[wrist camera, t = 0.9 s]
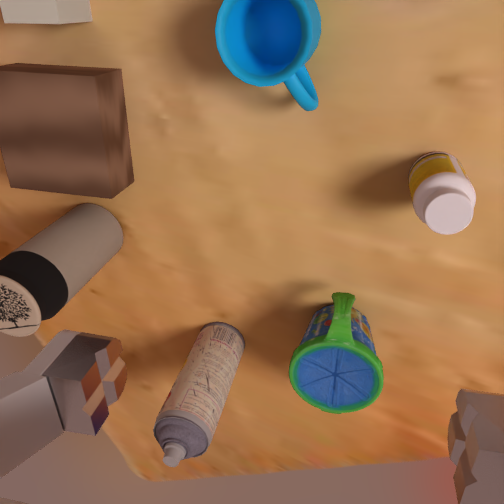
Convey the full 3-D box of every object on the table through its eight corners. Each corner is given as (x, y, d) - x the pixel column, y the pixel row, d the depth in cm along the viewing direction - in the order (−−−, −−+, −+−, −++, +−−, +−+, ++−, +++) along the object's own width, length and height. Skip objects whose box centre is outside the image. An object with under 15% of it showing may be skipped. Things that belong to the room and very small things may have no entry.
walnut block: (18, 62, 52) (-20, 69, 47) (122, 68, 49) (94, 76, 44) (42, 170, 58) (10, 187, 53) (135, 180, 56) (111, 198, 51)
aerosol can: (195, 321, 64) (133, 437, 47) (240, 321, 63) (193, 442, 46) (204, 358, 68) (149, 479, 51) (248, 359, 66) (206, 485, 49)
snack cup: (309, 266, 56) (299, 315, 47) (396, 284, 54) (401, 337, 46) (291, 358, 64) (279, 415, 55) (366, 376, 62) (366, 437, 54)
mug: (223, 14, 44) (196, 17, 37) (294, -41, 41) (279, -48, 34) (284, 121, 48) (270, 142, 41) (354, 79, 45) (352, 94, 38)
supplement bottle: (396, 183, 49) (403, 222, 40) (429, 140, 46) (443, 172, 37) (439, 208, 49) (454, 252, 41) (474, 167, 46) (497, 205, 38)
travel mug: (61, 203, 60) (-45, 274, 44) (115, 200, 58) (23, 274, 42) (80, 256, 63) (-12, 338, 48) (131, 255, 61) (52, 340, 46)
